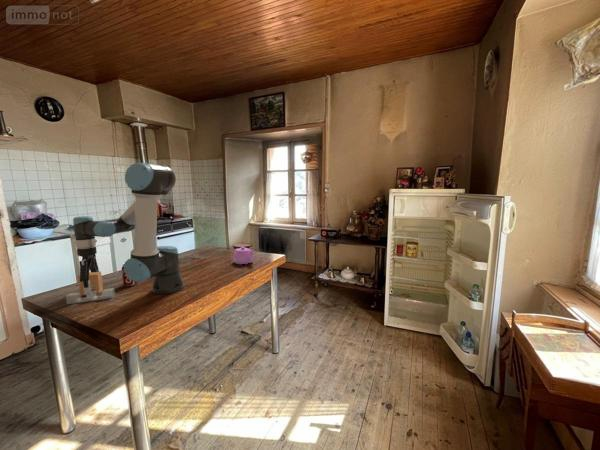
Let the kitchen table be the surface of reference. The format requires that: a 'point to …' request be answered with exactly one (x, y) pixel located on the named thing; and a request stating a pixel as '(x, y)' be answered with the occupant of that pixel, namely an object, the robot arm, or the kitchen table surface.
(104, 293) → the grey segmented bar
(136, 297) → the kitchen table surface
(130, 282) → the soda can
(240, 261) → the teapot
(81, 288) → the upright orange wooden block
